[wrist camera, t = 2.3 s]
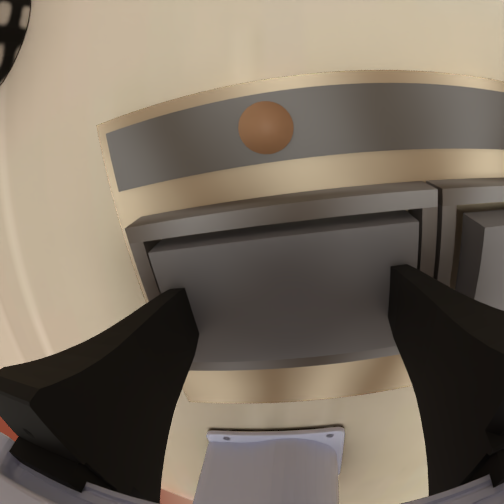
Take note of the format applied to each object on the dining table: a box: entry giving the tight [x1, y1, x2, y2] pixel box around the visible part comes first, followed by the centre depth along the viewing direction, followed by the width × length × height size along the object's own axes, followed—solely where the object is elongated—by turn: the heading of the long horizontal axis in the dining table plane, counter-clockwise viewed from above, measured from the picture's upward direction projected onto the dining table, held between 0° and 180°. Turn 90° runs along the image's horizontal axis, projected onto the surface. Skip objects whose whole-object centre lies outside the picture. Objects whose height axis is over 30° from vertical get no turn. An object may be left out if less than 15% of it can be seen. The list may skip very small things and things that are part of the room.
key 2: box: [148, 210, 419, 362], centre depth 11 cm, size 9×5×2 cm, turn 100°
